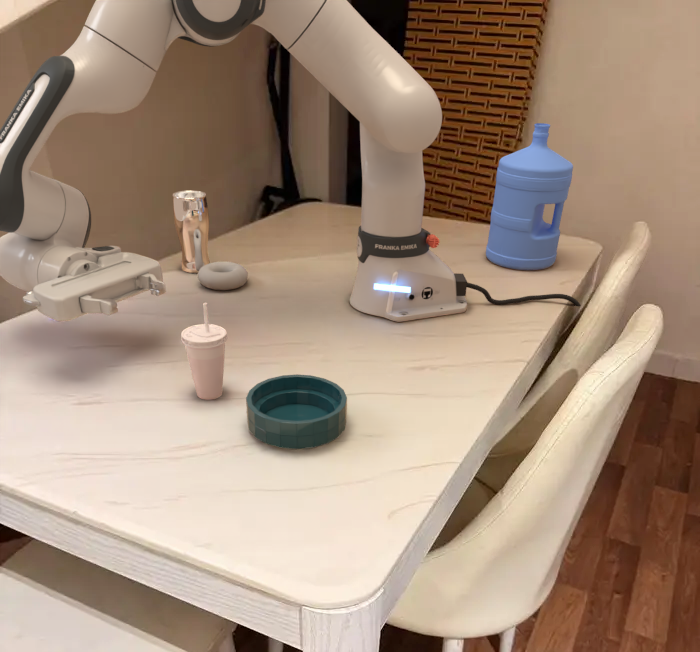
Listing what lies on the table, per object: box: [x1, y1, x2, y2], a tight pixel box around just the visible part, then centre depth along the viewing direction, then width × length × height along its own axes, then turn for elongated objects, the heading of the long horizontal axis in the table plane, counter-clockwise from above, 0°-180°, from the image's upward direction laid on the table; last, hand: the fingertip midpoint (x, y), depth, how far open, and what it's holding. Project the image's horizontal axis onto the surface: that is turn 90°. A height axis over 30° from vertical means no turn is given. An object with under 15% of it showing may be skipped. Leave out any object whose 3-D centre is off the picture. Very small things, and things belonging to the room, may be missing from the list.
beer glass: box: [172, 189, 211, 274], centre depth 144 cm, size 7×7×15 cm
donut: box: [197, 260, 249, 291], centre depth 140 cm, size 10×4×10 cm
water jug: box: [485, 122, 574, 271], centre depth 151 cm, size 16×16×28 cm
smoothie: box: [180, 302, 228, 401], centre depth 99 cm, size 6×6×14 cm
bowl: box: [245, 373, 348, 450], centre depth 95 cm, size 13×13×4 cm
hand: (138, 298), depth 102 cm, fingers open, 8 cm apart
